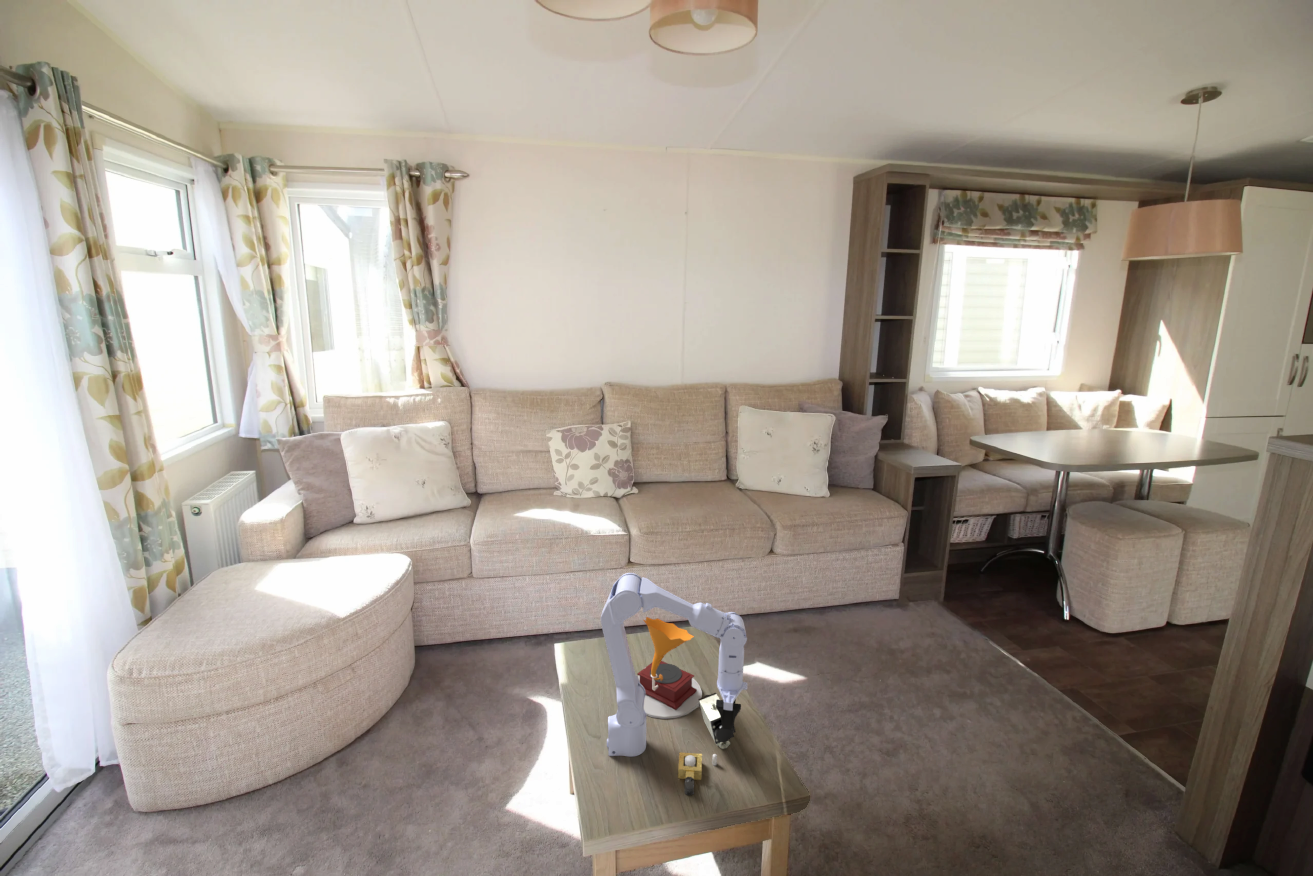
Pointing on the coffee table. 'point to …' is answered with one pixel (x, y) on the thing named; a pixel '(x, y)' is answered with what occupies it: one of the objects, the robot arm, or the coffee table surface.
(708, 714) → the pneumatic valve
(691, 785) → the square nut with handle
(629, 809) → the coffee table surface
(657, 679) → the gramophone
